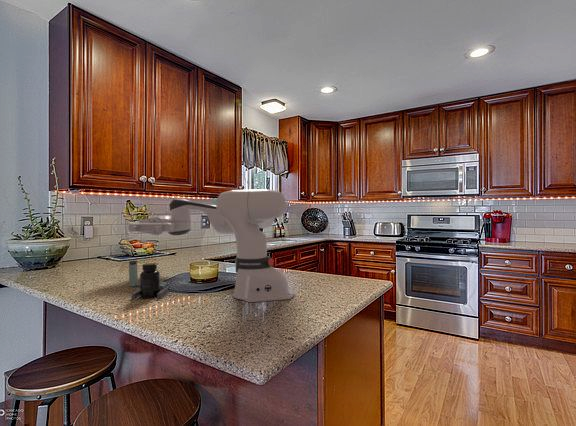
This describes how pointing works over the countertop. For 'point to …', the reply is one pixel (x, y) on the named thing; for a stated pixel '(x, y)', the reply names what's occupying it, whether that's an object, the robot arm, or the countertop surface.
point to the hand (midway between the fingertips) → (144, 228)
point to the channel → (159, 294)
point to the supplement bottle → (149, 281)
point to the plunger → (134, 277)
